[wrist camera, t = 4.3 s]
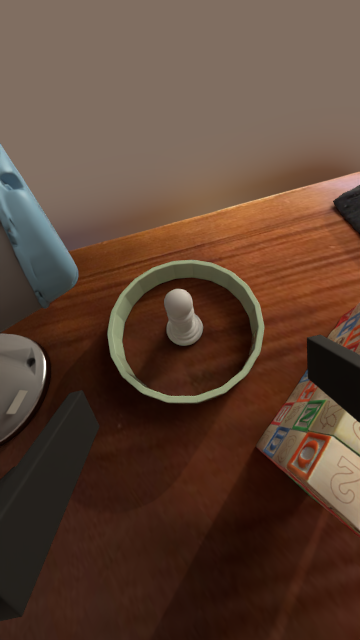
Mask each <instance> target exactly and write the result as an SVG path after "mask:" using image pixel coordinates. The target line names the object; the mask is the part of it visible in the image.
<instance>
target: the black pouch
mask: <svg viewBox="0 0 360 640" xmlns="http://www.w3.org/2000/svg"><path fill="white" fill-rule="evenodd" d="M333 202H334V204H335V205H336V206H337V208H338V210H339V211H340V213H341V215H342V216H344V217H345V219H346V220H347V221H348V222H349V223H350V224H351V225H352V226H353V228H354V229H355V230H356V231H358V232H359V233H360V185H359V186H357V187H356V188H354V189H352V190H350V191H347V192H345V193H343V194H342V195H341V196H339V197H338V198H337V199H335V200H334V201H333Z"/></svg>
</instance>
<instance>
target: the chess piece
mask: <svg viewBox="0 0 360 640" xmlns="http://www.w3.org/2000/svg"><path fill="white" fill-rule="evenodd" d="M164 306H165V309H166V311H167V316H168V318H169V321H168V324H167V335H168V337H169V338H170V340H171V341H172V342H174V343H175V344H178V345H182V346H186V345H191V344H193V343H195V342H196V341H197V340H198V339H199V338H200V336H201V334H202V331H203V325H202V322H201V320H200V319H199V317H198V316H197V315H195V314H194V308H193V301H192V298H191V296H190V294H189V293H188V292H187V291H185V290H183V289H174V290H172V291H170V292H169V293H168V294H167V295H166V297H165V300H164Z"/></svg>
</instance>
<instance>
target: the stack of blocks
mask: <svg viewBox="0 0 360 640" xmlns="http://www.w3.org/2000/svg"><path fill="white" fill-rule="evenodd" d="M328 339H330V340H332V341H334V342H336V343H338V344H340V345H342V346H344V347H346V348H348V349H350V350H352V351H354V352H356V353H358V354H360V303H359V304H358V305H357V306H355V307H354V308H352V309H351V310H349V311H348V312H347V313H346V314H344V315H343V316H342V318H341V319H340V321H339V322H338V324H337V326H336V327H335V329H334V330H333V331H332V332H331V333H330V335H329V336H328ZM256 447H257V448H258V449H259V450H260V451H261V452H262V453H263V454H264V455H265V456H266V457H268V458H269V459H270V460H271V461H272V462H273V463H274V464H275V465H276V466H277V467H278V468H280V469H281V470H282V471H283V472H285V473H286V474H287V475H288V476H289V477H290V478H291V479H292V480H293V481H294V482H295V483H296V484H297V485H299V486H300V487H301V488H302V489H303V490H304V491H305V492H306V493H307V494H308V495H309V496H311V497H312V498H313V499H314V500H315V501H317V502H318V503H319V504H321V505H322V506H323V507H324V508H325V509H327V510H328V511H329V512H330V513H331V514H333V515H334V516H335V517H336V518H337V519H339V520H340V521H341V522H342V523H343V524H345V525H346V526H347V527H348V528H349V529H350V530H352V531H353V532H354V533H355V534H356V535H357V536H359V537H360V423H359V422H358V421H357V420H356V419H354V418H353V417H352V416H351V415H350V414H349V413H347V412H346V411H345V410H344V409H343V408H342V407H341V406H339V405H338V404H337V403H336V402H335V401H334V400H332V399H331V398H330V397H329V396H328V395H327V394H325V393H324V392H323V391H322V390H321V389H320V388H318V387H317V386H316V385H315V384H314V383H313V382H312V381H310V380H309V379H308V369H307V371H306V372H305V374H304V375H303V377H302V378H301V380H300V381H299V384H298V385H297V386H296V388H295V389H294V391H293V392H292V394H291V395H290V397H289V398H288V400H287V401H286V403H285V404H284V405H283V406H282V407H281V409H280V410H279V412H278V413H277V415H276V416H275V418H274V419H273V421H272V422H271V424H270V425H269V427H268V428H267V429H266V431H265V432H264V434H263V435H262V437H261V438H260V440H259V441H258V443H257V444H256Z"/></svg>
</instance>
